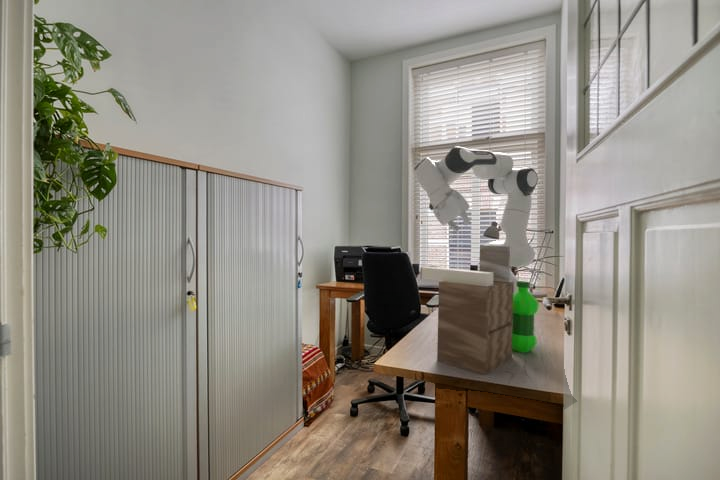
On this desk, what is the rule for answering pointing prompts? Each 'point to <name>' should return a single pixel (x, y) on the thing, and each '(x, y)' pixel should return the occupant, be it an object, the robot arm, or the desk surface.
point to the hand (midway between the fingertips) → (462, 227)
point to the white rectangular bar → (457, 276)
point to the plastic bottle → (523, 318)
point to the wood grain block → (478, 317)
